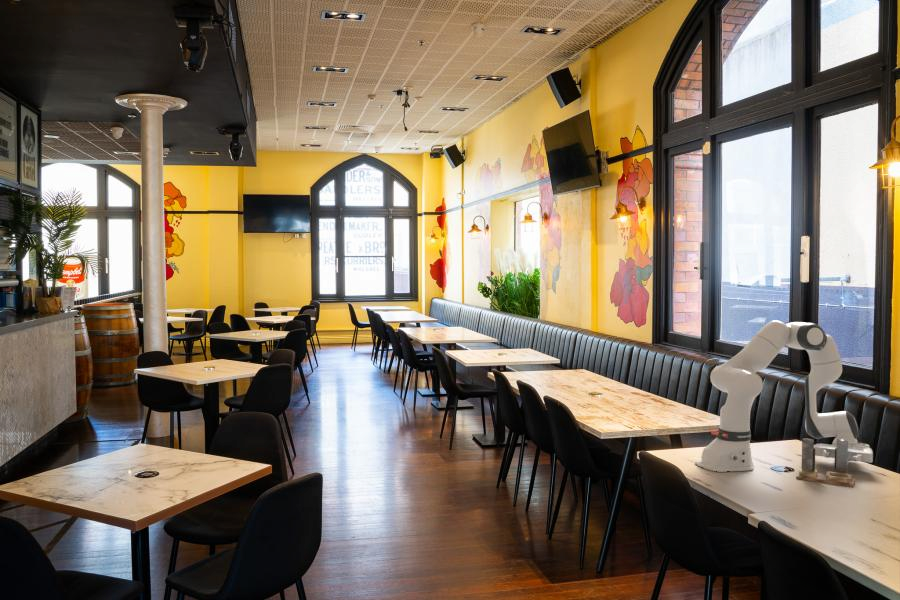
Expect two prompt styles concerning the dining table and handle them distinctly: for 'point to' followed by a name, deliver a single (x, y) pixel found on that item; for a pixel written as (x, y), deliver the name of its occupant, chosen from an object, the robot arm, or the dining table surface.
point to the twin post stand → (811, 474)
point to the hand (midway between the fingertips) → (840, 457)
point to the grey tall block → (841, 456)
